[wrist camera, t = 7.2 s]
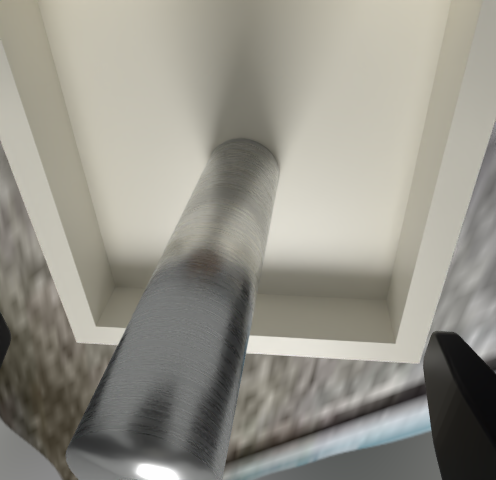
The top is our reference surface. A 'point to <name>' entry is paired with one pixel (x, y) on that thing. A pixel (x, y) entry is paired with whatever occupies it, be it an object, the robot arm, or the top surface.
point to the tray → (265, 132)
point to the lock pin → (186, 334)
